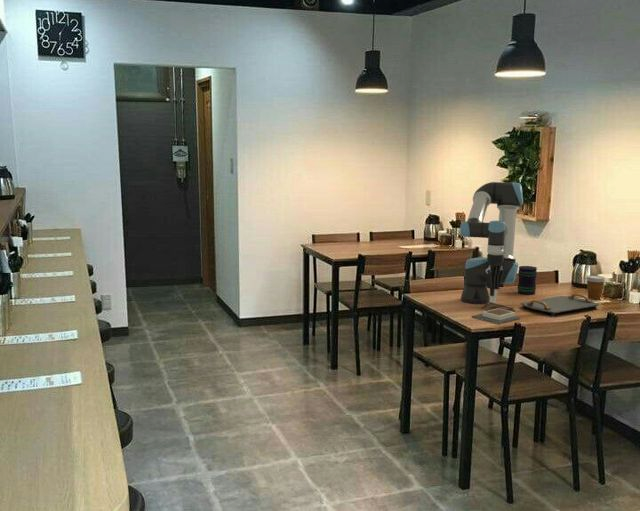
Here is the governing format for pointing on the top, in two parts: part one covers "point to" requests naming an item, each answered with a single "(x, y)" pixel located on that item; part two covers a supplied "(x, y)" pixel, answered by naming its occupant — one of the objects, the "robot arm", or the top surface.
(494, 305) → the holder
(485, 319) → the rubber mat
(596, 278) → the disposable coffee cup
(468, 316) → the top surface
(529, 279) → the storage jar
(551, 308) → the serving board
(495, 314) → the white picture frame
